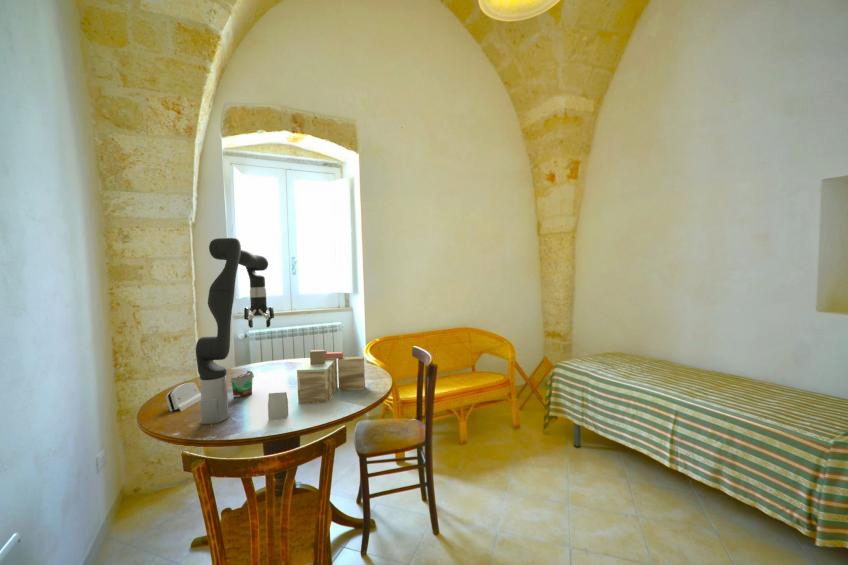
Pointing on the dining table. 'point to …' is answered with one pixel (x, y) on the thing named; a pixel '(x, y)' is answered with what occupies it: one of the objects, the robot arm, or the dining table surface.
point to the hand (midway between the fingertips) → (259, 327)
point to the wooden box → (331, 380)
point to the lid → (317, 362)
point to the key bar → (333, 355)
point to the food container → (242, 385)
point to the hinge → (183, 396)
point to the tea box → (277, 406)
